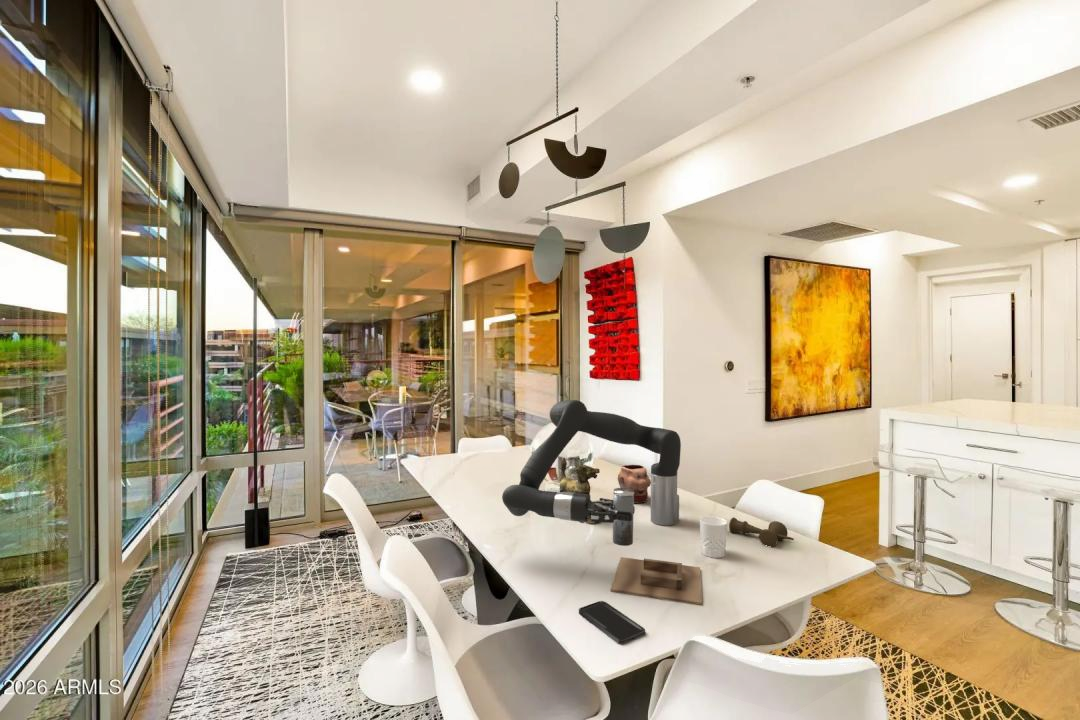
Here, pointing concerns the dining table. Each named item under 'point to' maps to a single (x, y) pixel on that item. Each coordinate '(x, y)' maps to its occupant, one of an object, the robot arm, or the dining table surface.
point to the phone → (612, 622)
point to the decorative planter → (635, 481)
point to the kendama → (761, 531)
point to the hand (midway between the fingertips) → (632, 513)
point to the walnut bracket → (658, 580)
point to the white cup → (713, 536)
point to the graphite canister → (621, 528)
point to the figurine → (582, 484)
